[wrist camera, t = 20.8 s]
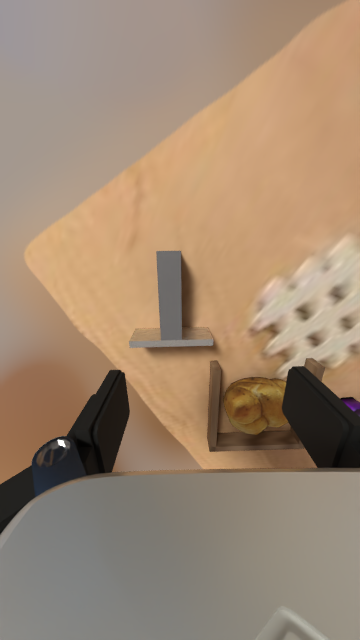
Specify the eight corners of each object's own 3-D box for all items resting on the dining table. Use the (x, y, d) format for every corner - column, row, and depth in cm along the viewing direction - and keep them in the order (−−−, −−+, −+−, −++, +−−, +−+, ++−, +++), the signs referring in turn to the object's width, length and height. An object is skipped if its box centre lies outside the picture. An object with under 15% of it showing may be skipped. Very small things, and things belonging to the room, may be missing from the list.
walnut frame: (312, 358, 35) (324, 367, 32) (294, 435, 41) (303, 448, 38) (210, 360, 35) (213, 370, 32) (207, 437, 41) (209, 451, 38)
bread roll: (287, 366, 36) (318, 397, 28) (285, 408, 39) (311, 446, 31) (217, 374, 36) (229, 407, 28) (220, 416, 39) (231, 455, 31)
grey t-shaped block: (210, 250, 29) (217, 250, 24) (207, 332, 33) (213, 345, 28) (128, 252, 29) (119, 251, 24) (136, 334, 33) (129, 347, 28)
